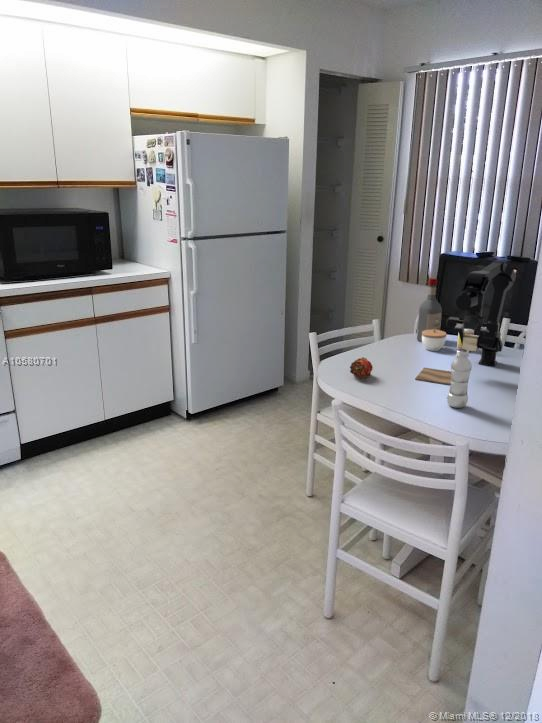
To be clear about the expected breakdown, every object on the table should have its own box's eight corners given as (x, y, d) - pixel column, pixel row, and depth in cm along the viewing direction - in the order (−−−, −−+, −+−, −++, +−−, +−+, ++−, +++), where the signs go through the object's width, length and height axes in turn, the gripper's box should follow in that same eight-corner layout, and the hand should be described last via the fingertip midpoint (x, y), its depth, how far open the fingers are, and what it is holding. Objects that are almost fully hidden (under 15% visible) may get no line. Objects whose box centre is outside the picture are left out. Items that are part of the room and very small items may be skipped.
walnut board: (423, 368, 217) (424, 367, 217) (459, 374, 210) (459, 372, 210) (415, 379, 205) (415, 378, 205) (452, 385, 199) (452, 384, 199)
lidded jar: (416, 346, 246) (417, 327, 243) (437, 344, 248) (438, 325, 245) (428, 353, 236) (429, 333, 233) (449, 351, 238) (451, 331, 235)
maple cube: (463, 346, 208) (465, 334, 207) (477, 348, 206) (478, 335, 205) (461, 349, 204) (463, 337, 203) (475, 351, 202) (477, 338, 200)
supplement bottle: (473, 352, 237) (476, 324, 233) (457, 351, 238) (460, 323, 234) (470, 347, 243) (473, 320, 239) (455, 347, 244) (458, 320, 240)
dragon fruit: (358, 386, 204) (359, 379, 215) (377, 374, 202) (376, 368, 213) (345, 368, 203) (347, 362, 215) (364, 356, 201) (364, 351, 213)
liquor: (441, 341, 253) (447, 279, 243) (428, 344, 249) (433, 281, 239) (427, 337, 260) (432, 276, 251) (413, 340, 256) (418, 278, 246)
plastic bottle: (443, 403, 184) (448, 348, 177) (462, 402, 184) (468, 347, 178) (450, 410, 178) (456, 353, 171) (470, 409, 178) (477, 353, 172)
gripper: (445, 307, 197) (441, 347, 202) (499, 312, 189) (493, 354, 194) (450, 302, 207) (446, 340, 212) (502, 306, 198) (496, 346, 203)
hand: (469, 345), depth 205 cm, fingers closed on maple cube, 5 cm apart
